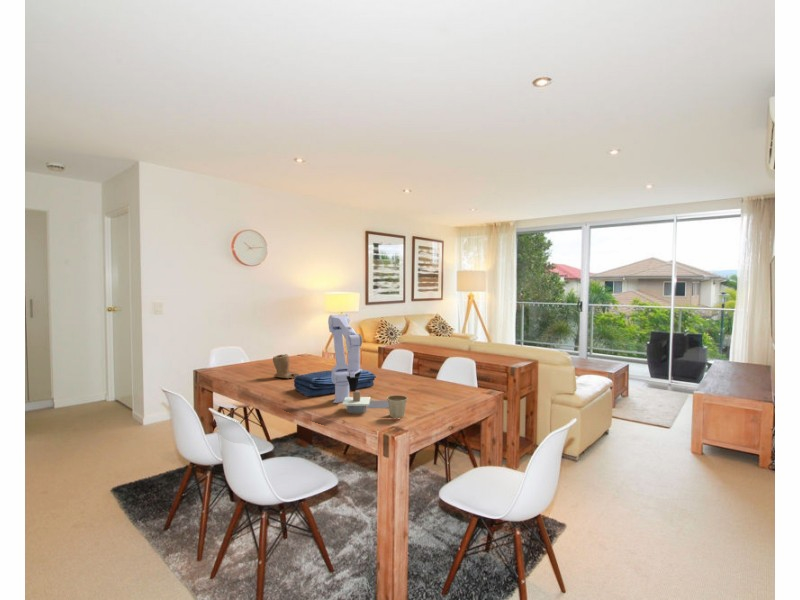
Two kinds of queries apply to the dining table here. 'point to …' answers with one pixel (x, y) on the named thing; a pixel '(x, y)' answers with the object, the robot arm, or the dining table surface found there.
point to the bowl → (356, 409)
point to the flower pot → (397, 405)
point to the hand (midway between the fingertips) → (353, 389)
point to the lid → (356, 400)
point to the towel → (326, 382)
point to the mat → (378, 404)
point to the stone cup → (283, 367)
